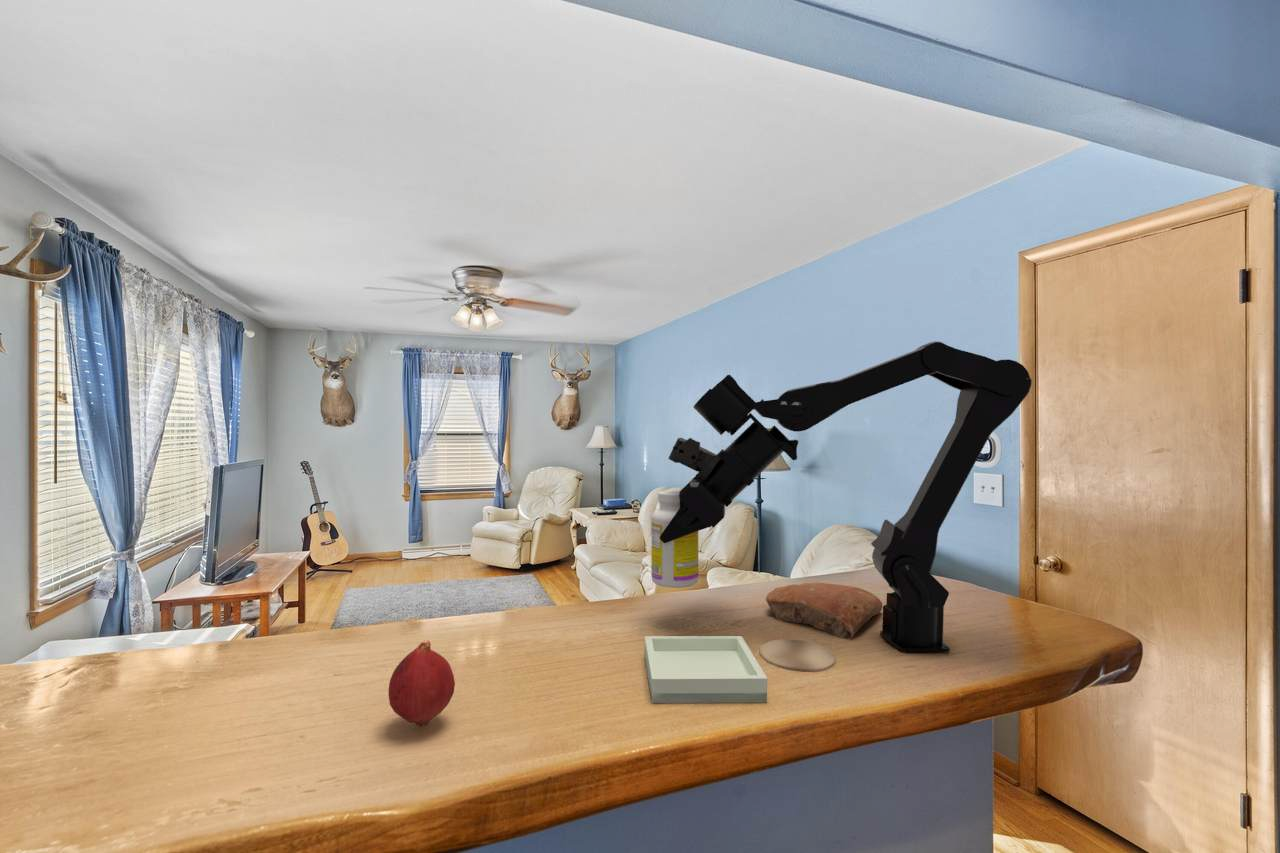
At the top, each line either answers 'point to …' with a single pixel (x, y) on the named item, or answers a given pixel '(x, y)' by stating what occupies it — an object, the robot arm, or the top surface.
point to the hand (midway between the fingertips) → (665, 535)
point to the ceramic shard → (825, 606)
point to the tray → (703, 670)
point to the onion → (421, 685)
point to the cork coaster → (797, 655)
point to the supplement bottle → (672, 548)
